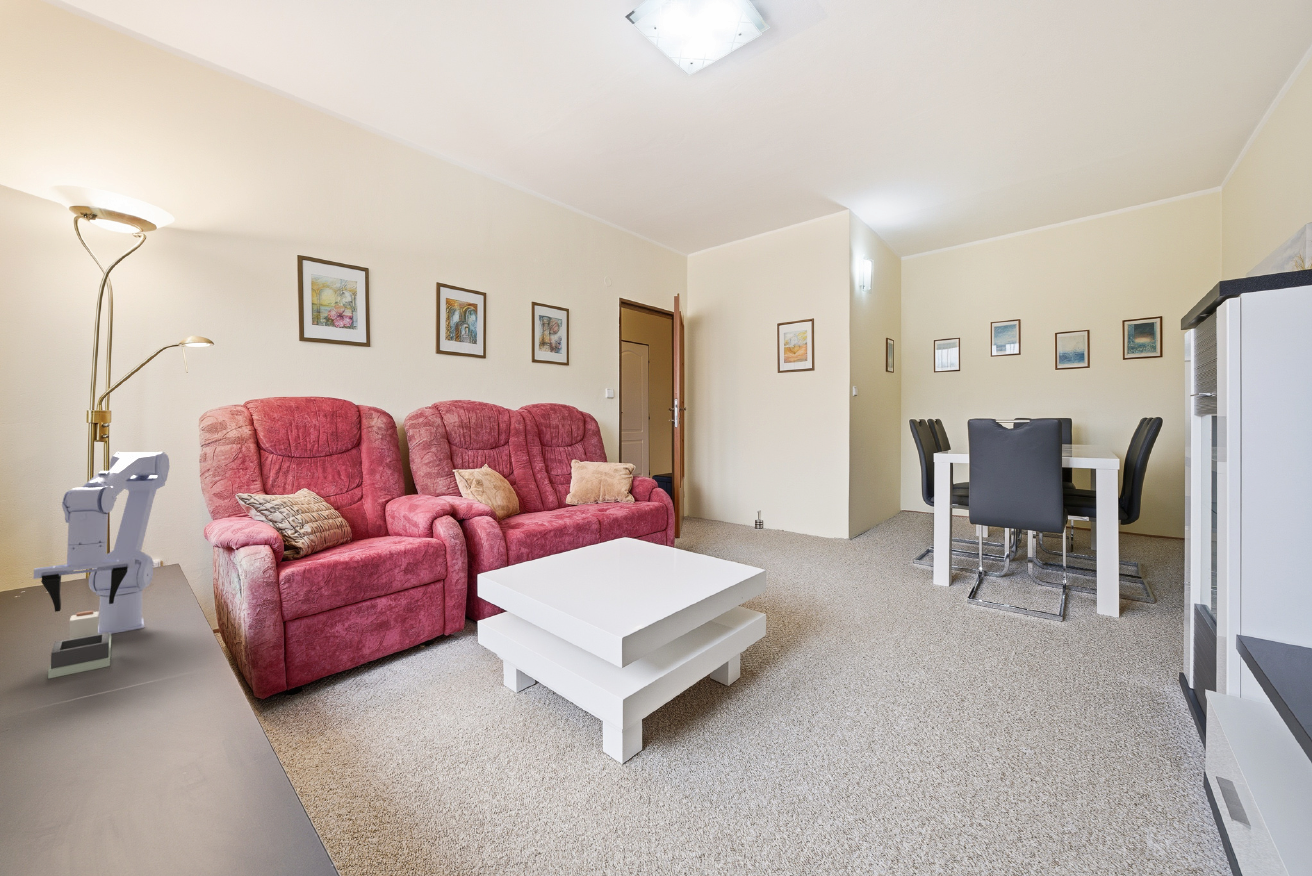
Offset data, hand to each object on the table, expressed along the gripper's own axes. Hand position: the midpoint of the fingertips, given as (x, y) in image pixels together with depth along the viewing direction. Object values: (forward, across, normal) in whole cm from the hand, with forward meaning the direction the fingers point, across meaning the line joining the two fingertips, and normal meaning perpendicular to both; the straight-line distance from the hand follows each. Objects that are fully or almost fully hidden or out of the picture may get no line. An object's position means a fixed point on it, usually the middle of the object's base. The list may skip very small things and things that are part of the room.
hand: (85, 606), depth 111 cm
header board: (+10, 0, -5) cm, 11 cm away
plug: (+8, 0, 0) cm, 8 cm away
